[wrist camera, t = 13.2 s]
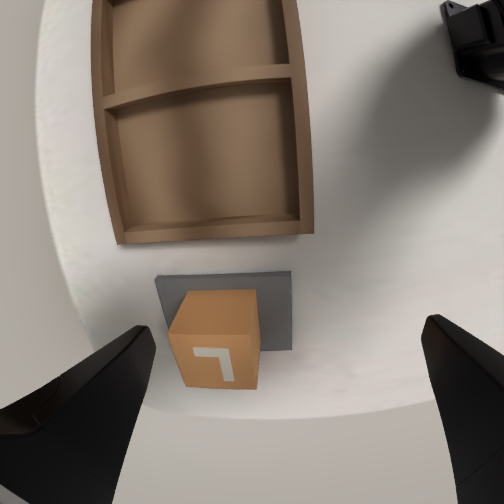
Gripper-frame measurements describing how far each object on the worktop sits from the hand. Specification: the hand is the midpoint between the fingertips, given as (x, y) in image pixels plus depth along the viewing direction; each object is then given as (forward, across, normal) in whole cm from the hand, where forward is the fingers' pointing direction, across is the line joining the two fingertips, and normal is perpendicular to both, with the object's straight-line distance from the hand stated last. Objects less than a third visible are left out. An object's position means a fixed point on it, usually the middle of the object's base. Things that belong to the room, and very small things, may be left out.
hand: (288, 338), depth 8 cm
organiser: (+12, +5, -14) cm, 18 cm away
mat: (+11, +5, +8) cm, 14 cm away
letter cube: (+11, +5, +8) cm, 14 cm away
